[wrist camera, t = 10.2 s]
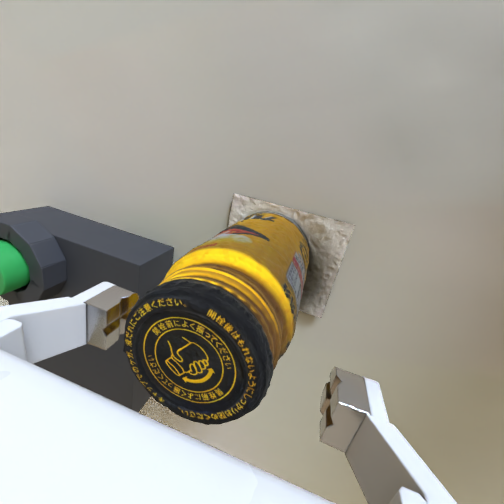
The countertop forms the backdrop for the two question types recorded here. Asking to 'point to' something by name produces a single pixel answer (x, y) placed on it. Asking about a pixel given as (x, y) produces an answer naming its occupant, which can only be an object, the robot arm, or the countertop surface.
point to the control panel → (85, 286)
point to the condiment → (233, 309)
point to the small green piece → (12, 268)
